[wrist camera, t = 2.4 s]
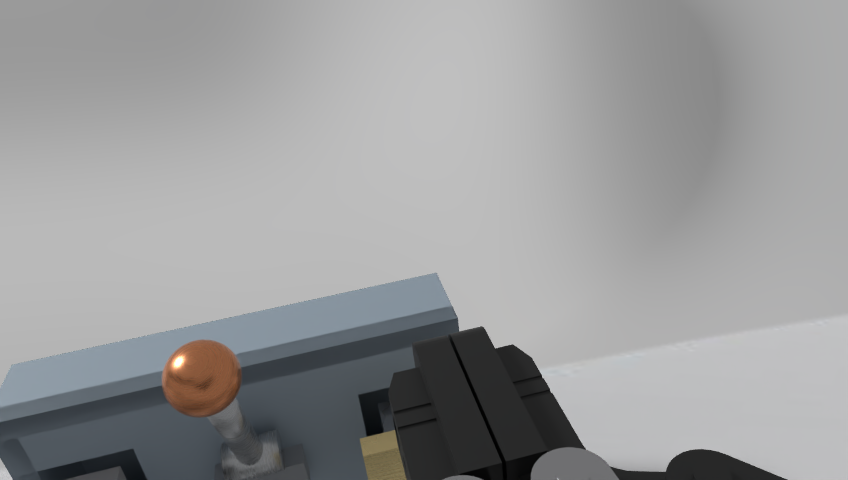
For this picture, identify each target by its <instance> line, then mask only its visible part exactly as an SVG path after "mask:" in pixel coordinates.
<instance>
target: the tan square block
mask: <svg viewBox="0 0 848 480" xmlns="http://www.w3.org/2000/svg"><path fill="white" fill-rule="evenodd" d="M378 408H379V413H380V418H381V423H382V429H383V433H380V434H376V435H372V436H368V437H364V438H360V443H361V448H362V453H363V458H364V463H365V467H366V472H367V476H368V480H407V479H406V476H405V472H404V467H403V464H402V460H401V456H400V452H399V448H398V444H397V438H396V433H395V428H394V422H393V417H392V411H391V406H390V401H387V402H382V403H378Z"/></svg>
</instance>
